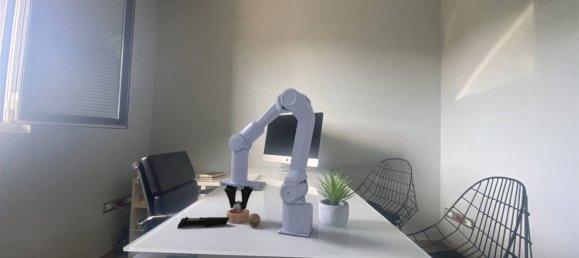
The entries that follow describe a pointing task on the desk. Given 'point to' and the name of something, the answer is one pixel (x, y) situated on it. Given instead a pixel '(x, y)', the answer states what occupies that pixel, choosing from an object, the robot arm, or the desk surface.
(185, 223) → the electric trimmer
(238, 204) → the steel ball
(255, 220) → the wooden ball
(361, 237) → the desk surface
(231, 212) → the terracotta bowl
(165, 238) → the desk surface
